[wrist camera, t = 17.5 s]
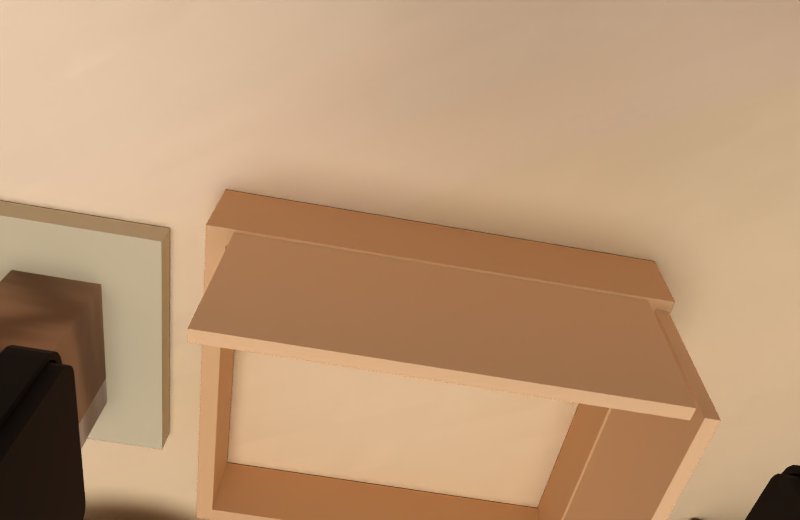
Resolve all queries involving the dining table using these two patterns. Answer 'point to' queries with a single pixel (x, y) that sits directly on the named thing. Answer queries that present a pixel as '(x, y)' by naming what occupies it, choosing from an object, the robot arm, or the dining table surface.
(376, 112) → the dining table surface
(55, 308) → the walnut box
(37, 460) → the robot arm
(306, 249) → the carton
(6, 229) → the board
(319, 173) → the dining table surface
